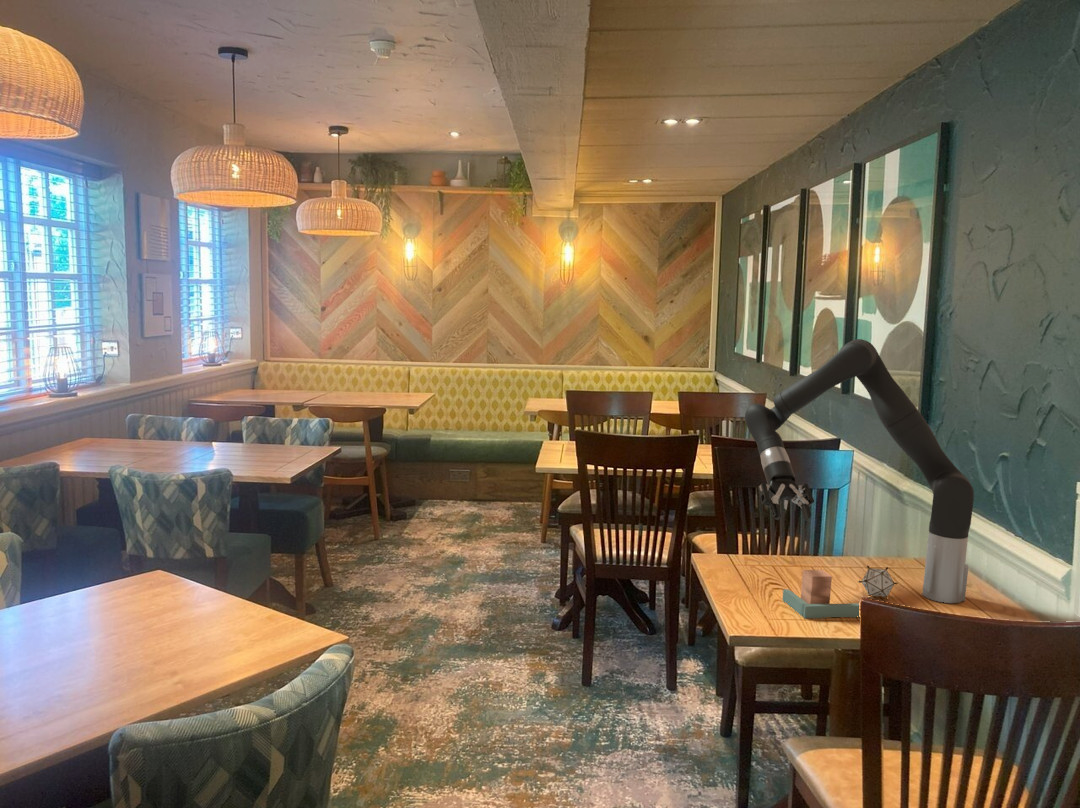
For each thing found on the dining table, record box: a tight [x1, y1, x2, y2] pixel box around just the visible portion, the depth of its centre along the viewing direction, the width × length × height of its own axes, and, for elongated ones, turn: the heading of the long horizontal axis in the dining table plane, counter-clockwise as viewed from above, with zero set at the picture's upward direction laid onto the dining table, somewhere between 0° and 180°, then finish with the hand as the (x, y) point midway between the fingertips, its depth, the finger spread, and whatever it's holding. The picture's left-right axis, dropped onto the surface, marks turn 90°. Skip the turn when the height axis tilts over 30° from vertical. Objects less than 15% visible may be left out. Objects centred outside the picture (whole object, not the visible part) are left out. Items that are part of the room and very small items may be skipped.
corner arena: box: [782, 588, 860, 619], centre depth 197 cm, size 16×12×3 cm
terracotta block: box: [800, 569, 833, 604], centre depth 195 cm, size 5×5×9 cm
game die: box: [857, 565, 899, 598], centre depth 207 cm, size 9×8×10 cm
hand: (793, 518), depth 210 cm, fingers open, 8 cm apart
